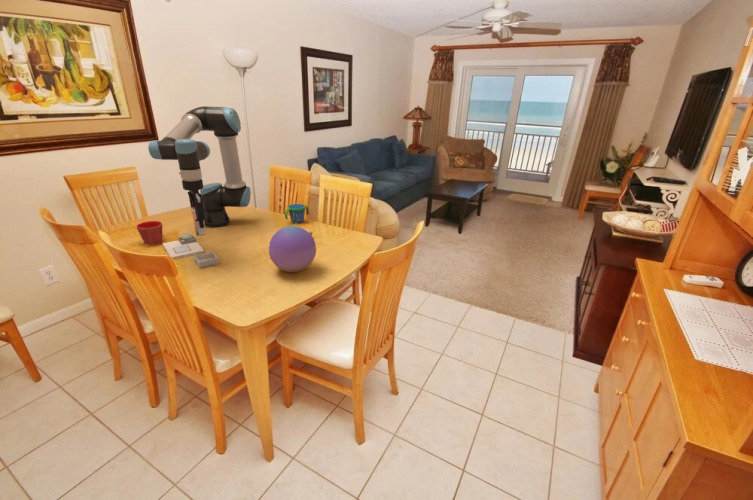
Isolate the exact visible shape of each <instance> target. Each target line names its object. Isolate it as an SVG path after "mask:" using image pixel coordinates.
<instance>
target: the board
mask: <svg viewBox="0 0 753 500" xmlns="http://www.w3.org/2000/svg"><path fill="white" fill-rule="evenodd" d="M192 237H193V238H192V239H190V240H182V239H181V236H180V237H178V239H177V240H174V241H169V242H163V243H162V245H163V248H164V250H165V251H166V253H167V254H168V256H169V257H170V256H171V257H172V258H173V260H177V259H181V258H185V257H191V256H196V255H200V254H205V250H204V249H203V248H202V246H201V245H200V243H199V242H197V238H195V236H194V235H193V234H192Z"/></svg>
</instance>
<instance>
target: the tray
mask: <svg viewBox="0 0 753 500" xmlns="http://www.w3.org/2000/svg"><path fill="white" fill-rule="evenodd" d="M193 257H194V262H195V265H197V266H198V269H203V268H207V267H211V266H217V265H219V264H220V263H219V257H218V256H217V255H216V254H215V253H214V252H213V251H210V252H206V253H205V252H204V253H201V254H197V255H193Z"/></svg>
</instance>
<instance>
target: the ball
mask: <svg viewBox="0 0 753 500" xmlns="http://www.w3.org/2000/svg"><path fill="white" fill-rule="evenodd" d="M305 229H306V228H303V227H300V226H295V225H289V226H286V227H285V226H284V227H282V228H280V229H279V230H278V231H276V232H275V233H274V234H273V235H272V236H271V239H270V241H269V245H268V253H269V257H270V260H271V261H272V263H273V264H274V265H275V266H276V267H277V268H278V269H279V270H282V271H284V272H289V273H297V272H301V271H304V270H305V269H307V268H308V267H310V265H312V263H313V261H314V259H315V257H316V253H317V245H316V242H315V239H314V237H313V236H311V234H310V233H309V232H307V231H306V230H307V229H306V230H305Z"/></svg>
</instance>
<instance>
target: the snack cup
mask: <svg viewBox="0 0 753 500" xmlns="http://www.w3.org/2000/svg"><path fill="white" fill-rule="evenodd" d="M288 212H289V218H290V222H291V223H292V222H293V223H292V224H295V223H299V224H302V223H301V222H303V221H304V222H305V213H306V215H307V216H308V215H309V214H310V211H309V207H308V206H307V205H305V204H303V203H292V204H289V205H288V206H287V208H286V209H285V212H284V218H285V219H286V220H288V219H289V218H288ZM304 222H303V223H304Z"/></svg>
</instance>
